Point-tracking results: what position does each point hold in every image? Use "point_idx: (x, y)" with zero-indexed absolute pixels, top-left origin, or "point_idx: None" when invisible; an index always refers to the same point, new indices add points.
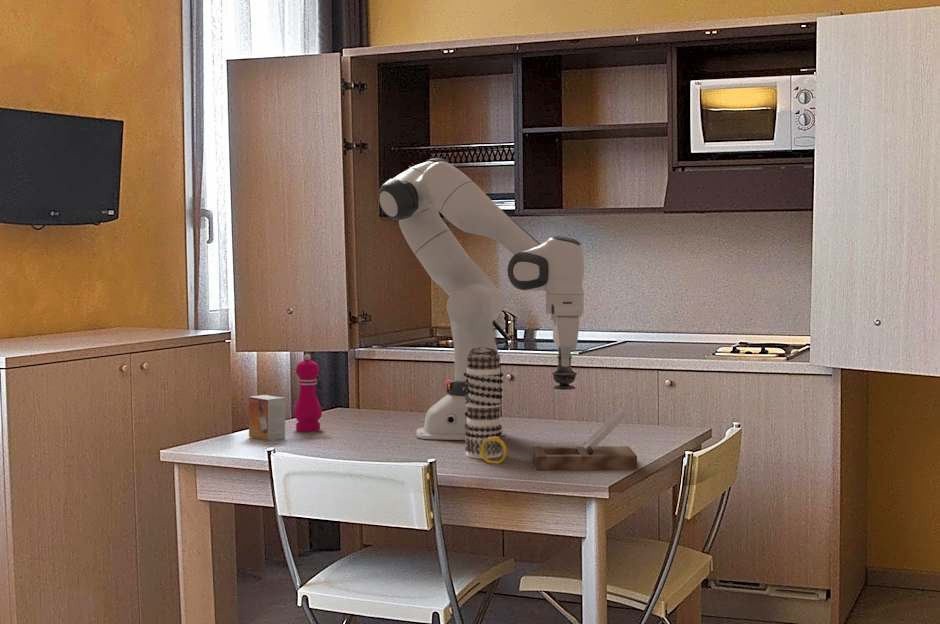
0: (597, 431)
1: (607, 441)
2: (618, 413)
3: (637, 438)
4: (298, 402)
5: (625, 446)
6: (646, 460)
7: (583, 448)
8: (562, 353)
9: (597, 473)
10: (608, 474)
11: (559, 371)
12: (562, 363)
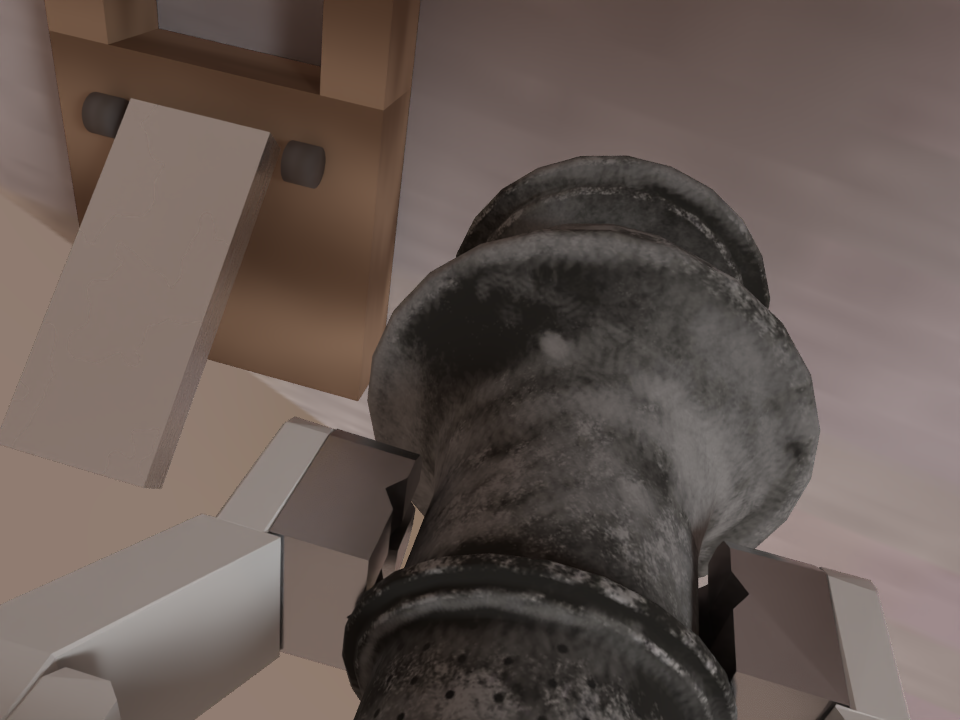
0: (207, 255)
1: (932, 478)
2: (74, 424)
3: (934, 628)
4: None
5: (352, 384)
6: (347, 419)
7: (309, 138)
8: (14, 617)
9: (29, 77)
10: (14, 125)
11: (480, 352)
12: (269, 458)
